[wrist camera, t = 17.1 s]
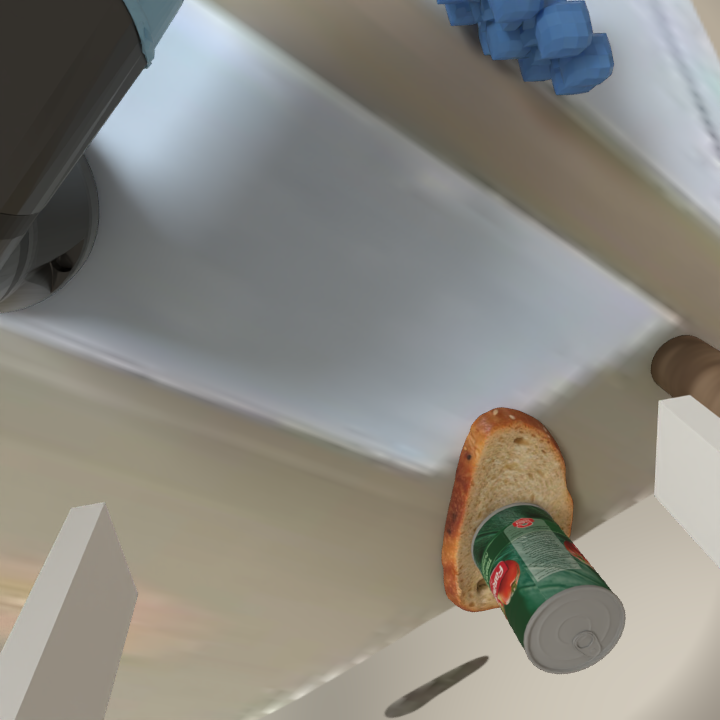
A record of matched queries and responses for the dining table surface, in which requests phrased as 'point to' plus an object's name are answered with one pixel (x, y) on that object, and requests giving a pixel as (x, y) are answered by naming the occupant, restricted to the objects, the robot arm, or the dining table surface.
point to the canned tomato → (547, 589)
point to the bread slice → (499, 493)
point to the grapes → (540, 39)
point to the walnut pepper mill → (689, 370)
